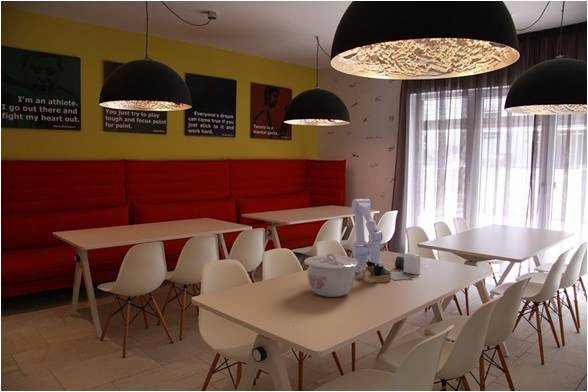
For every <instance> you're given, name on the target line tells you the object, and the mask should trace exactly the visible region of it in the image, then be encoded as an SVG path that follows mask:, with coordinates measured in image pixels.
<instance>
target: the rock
mask: <svg viewBox="0 0 588 392" xmlns="http://www.w3.org/2000/svg"><path fill="white" fill-rule="evenodd" d="M405 253H406V252H405ZM405 253H404V252H401V253H400V254H398V255H397V256H396V258H395V260H394V267H396V268H401V269H403V270H404V255H405Z"/></svg>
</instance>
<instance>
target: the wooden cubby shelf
mask: <svg viewBox="0 0 588 392" xmlns="http://www.w3.org/2000/svg"><path fill="white" fill-rule="evenodd" d="M391 273H392V271H391V270H390V269H388V268H386V267H385V266H384V267H383V276H370V272H369V271H367V270H365V269H363V268H361V267H359V273H358V277H359V279H361V280H363V281H365V282H367V283H368V284H375V282H376V283H386V282H387V281H388V282H391V279H390V277H391Z"/></svg>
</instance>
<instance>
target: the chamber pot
mask: <svg viewBox="0 0 588 392" xmlns="http://www.w3.org/2000/svg"><path fill="white" fill-rule="evenodd" d="M303 263H304V264H305V265H307V266H308V268H307V269H306V277H307V283H308V285H309V286H310V289H311V290H312V292H313V293H314V294H316V295H318V296H320V297H325V298H339V297H342V296H346V295H347V294H348V293H349V292H350V290H351V289H352V288H353V286H354V283H355V279H356V272H355V270H354V268H353V267H354V266H356V265H358V261H357V260H355V259H353V257H348V256H344V255H337V254H333V253H332V252H331V253H328V254H320V255H314V256H310V257H306V258H305V259H304V261H303Z"/></svg>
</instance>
